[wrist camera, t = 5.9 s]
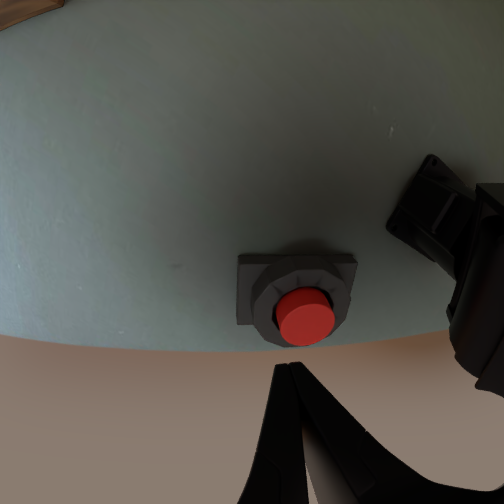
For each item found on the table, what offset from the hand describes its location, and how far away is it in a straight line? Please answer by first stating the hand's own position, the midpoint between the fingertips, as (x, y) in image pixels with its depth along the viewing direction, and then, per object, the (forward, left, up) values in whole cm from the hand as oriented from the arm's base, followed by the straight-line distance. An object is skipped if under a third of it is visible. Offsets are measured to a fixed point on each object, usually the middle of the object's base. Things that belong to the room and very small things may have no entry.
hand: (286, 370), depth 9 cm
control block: (-5, +3, -11) cm, 12 cm away
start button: (-5, +3, -9) cm, 10 cm away
